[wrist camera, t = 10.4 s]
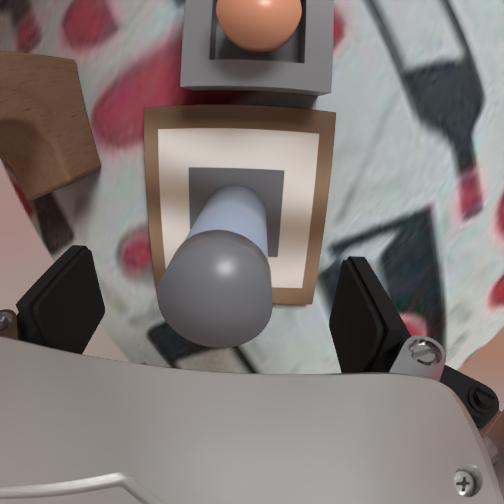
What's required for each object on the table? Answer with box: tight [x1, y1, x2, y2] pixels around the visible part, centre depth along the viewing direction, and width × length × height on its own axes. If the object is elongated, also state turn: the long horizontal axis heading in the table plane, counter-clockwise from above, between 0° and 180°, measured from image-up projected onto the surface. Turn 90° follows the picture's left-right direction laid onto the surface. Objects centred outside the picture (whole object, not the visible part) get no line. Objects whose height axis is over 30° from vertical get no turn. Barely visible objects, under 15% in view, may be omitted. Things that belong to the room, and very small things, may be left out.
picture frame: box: [144, 105, 336, 304], centre depth 20 cm, size 14×12×1 cm
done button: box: [216, 0, 302, 53], centre depth 12 cm, size 4×4×2 cm
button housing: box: [180, 0, 334, 96], centre depth 14 cm, size 8×8×4 cm
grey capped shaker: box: [157, 184, 273, 348], centre depth 15 cm, size 4×4×10 cm
